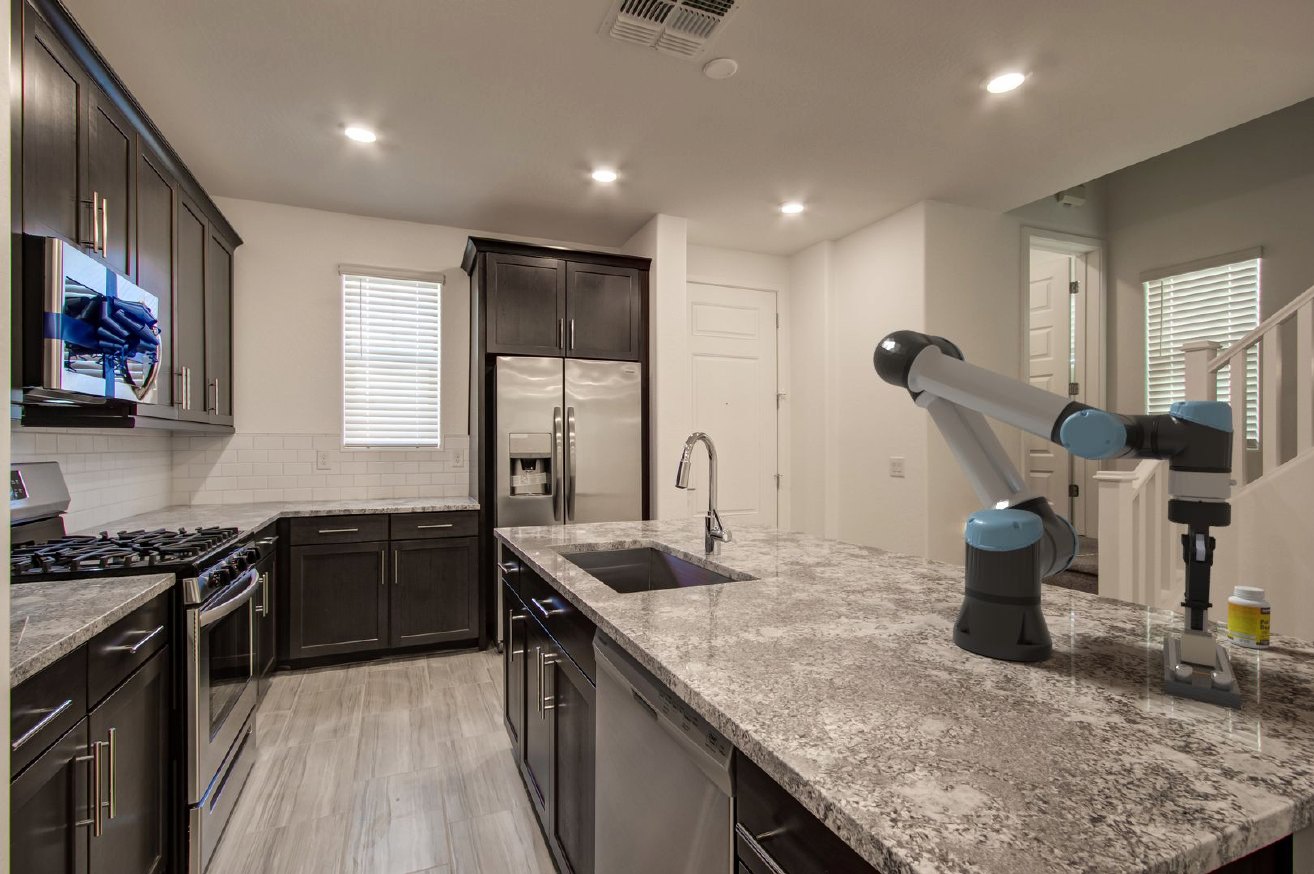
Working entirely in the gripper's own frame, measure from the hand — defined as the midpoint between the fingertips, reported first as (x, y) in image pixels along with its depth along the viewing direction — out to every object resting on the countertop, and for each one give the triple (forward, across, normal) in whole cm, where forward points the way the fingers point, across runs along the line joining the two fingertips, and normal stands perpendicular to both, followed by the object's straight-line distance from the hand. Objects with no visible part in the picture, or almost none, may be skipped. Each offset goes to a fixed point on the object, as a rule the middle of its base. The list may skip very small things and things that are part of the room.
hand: (1195, 648), depth 98 cm
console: (+4, -2, 0) cm, 4 cm away
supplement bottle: (+4, +25, -9) cm, 27 cm away
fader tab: (+1, -2, 0) cm, 3 cm away
